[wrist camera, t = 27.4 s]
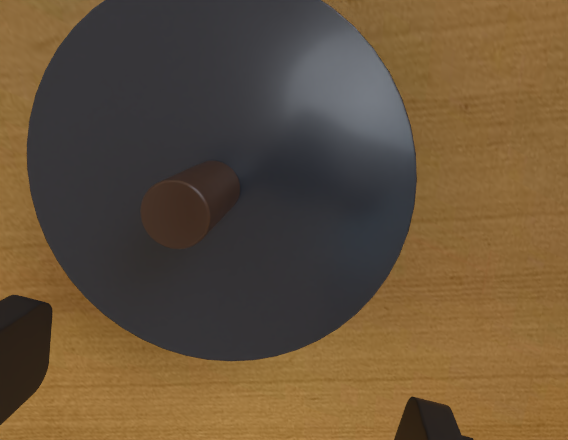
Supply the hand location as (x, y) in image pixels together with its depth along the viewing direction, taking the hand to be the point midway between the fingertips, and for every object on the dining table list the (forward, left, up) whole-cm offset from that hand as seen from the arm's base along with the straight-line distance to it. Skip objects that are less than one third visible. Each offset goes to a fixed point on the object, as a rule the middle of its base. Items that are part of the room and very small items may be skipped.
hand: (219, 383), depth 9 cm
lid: (+3, -2, -11) cm, 12 cm away
